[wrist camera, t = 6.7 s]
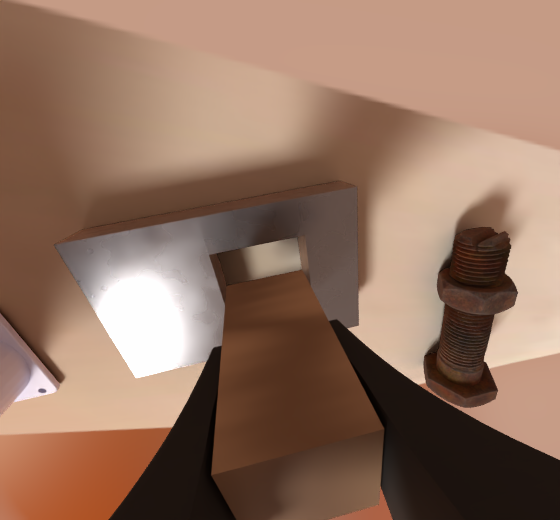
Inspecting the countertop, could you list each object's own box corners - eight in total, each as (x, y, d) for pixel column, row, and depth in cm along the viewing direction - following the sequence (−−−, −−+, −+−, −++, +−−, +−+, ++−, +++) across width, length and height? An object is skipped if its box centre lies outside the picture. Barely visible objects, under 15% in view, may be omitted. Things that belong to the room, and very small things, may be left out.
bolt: (449, 217, 20) (433, 350, 27) (421, 238, 18) (410, 379, 24) (550, 227, 16) (503, 383, 22) (532, 255, 13) (484, 423, 20)
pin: (243, 342, 14) (249, 542, 7) (226, 285, 12) (210, 475, 5) (309, 327, 15) (379, 504, 7) (302, 269, 13) (384, 428, 6)
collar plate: (148, 350, 19) (136, 377, 17) (82, 229, 14) (53, 244, 12) (345, 305, 20) (358, 325, 18) (339, 180, 16) (357, 186, 13)
